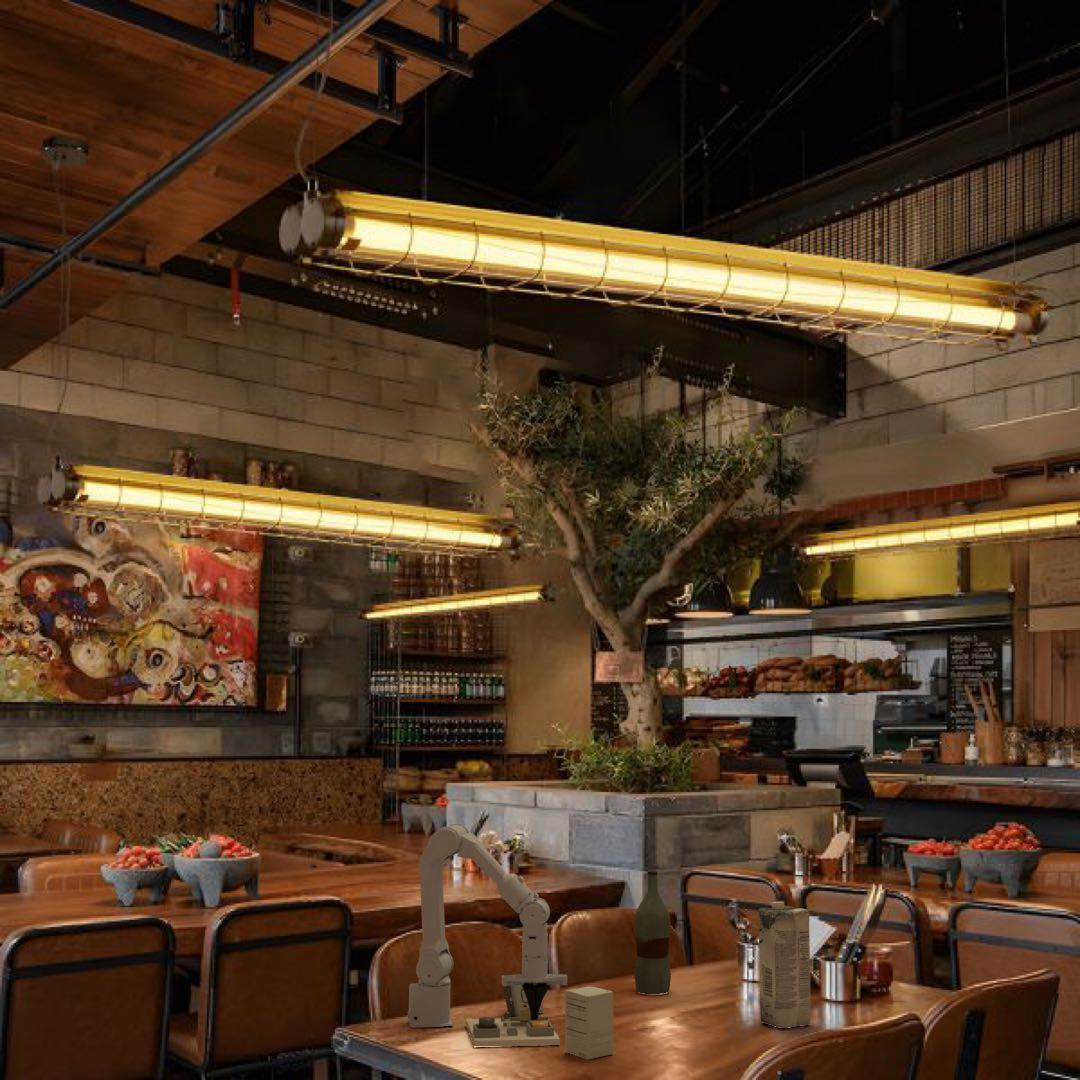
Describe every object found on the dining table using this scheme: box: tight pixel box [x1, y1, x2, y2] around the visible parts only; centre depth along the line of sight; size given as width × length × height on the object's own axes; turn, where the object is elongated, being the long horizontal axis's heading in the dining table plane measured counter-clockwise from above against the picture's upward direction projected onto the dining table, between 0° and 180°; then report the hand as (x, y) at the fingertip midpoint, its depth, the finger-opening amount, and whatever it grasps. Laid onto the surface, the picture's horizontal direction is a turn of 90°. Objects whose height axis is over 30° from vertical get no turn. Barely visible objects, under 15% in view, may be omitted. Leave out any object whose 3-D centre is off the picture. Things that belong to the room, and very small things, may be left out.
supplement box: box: [564, 985, 615, 1061], centre depth 278 cm, size 7×7×13 cm
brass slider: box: [519, 1007, 531, 1022], centre depth 297 cm, size 2×3×3 cm, turn 8°
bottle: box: [634, 869, 672, 994], centre depth 340 cm, size 9×9×30 cm
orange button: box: [532, 1021, 548, 1028], centre depth 288 cm, size 3×3×2 cm
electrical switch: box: [502, 985, 545, 1017], centre depth 313 cm, size 9×5×9 cm, turn 141°
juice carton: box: [757, 901, 812, 1028], centre depth 306 cm, size 9×10×27 cm
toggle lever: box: [502, 1011, 512, 1030], centre depth 287 cm, size 2×2×4 cm
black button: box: [478, 1016, 496, 1028], centre depth 286 cm, size 3×3×2 cm
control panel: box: [465, 1016, 561, 1047], centre depth 292 cm, size 18×20×3 cm
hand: (534, 1018), depth 298 cm, fingers closed
